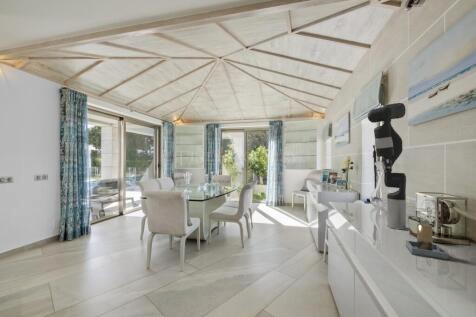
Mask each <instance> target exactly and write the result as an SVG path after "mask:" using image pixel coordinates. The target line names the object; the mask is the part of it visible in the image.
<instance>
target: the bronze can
mask: <svg viewBox="0 0 476 317" xmlns="http://www.w3.org/2000/svg"><path fill="white" fill-rule="evenodd" d="M416 240H417V241H416V242H417V248H418V249H423V250H430V251H433V244H434V243H433V240H434V239H433V225H431V224H430V225H427V224H417V238H416Z"/></svg>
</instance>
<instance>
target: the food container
mask: <svg viewBox="0 0 476 317" xmlns="http://www.w3.org/2000/svg"><path fill="white" fill-rule="evenodd" d="M407 220H408V233H409V236H411V237H413V238H415V239H417V224H427V225H431V223H430V221H429V219H428V218H425V217H421V216H414V215H408V216H407Z"/></svg>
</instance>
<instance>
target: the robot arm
mask: <svg viewBox="0 0 476 317" xmlns="http://www.w3.org/2000/svg"><path fill="white" fill-rule="evenodd" d="M406 110H407V109H406V106H405V104H404V103H403V102H395V103H389V104H385V105H383V106H382V107H378V108H373V109H371V110H369V112H368V113H367V119H368V121H369V122H370V123H372V124H374V123H375V124H376V123H381V122H383V124H382V125H380V126H377V127H374V129H373V133H374V134H373V135H374V145H375V146H374V147H375V153H376V157H378V158H380V161H381V166H382V169H383V174H384V175H383V177H384V178H383V184H384V186H385V188H393V189H395V188H396V189H398V190H397V191H393V192H390V193H387V194H386V195H387V196H386V198H387V199H386V201H387V202H386V204H387V206H386V207H387V209H386V210H387V212H386V214H387V215H386V216H387V217H386V219H387V220H386V222H387V224H386V226H387V227H389V228H390V229H396V230H406V229H407V198H406V197H407V196H406V195H407V194H406V192H407V191H406V189H407V176H406V174H405V173H403V172H392V171H393V169H392V168H393V165H394V164H395V163H396V161H397V160H398V158H399V157H400V156H401V154H402V153H403V151H404V150H403V139H402V137H401V136H400V135H399V134H398V132H397V131H396V130H395V129H394V127H393V126H392V123H391V122H392V120H395V119H396V120H397V119H401V118H403V117H405V115H406Z"/></svg>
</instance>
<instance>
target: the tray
mask: <svg viewBox="0 0 476 317" xmlns="http://www.w3.org/2000/svg"><path fill="white" fill-rule="evenodd" d="M405 247H406V248H407V249H408V251H409V252H410V254H411V255H413V256H419V257H425V258H433V259H438V260H444V261H445V260H446V261H449V253H448V252H447V251H446V250H445V249H444V248H443V247H441V246H440V245H439V244H437V243H433V251H430V250H423V249H418V248H417V241H414V240H407V239H406V240H405Z"/></svg>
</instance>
